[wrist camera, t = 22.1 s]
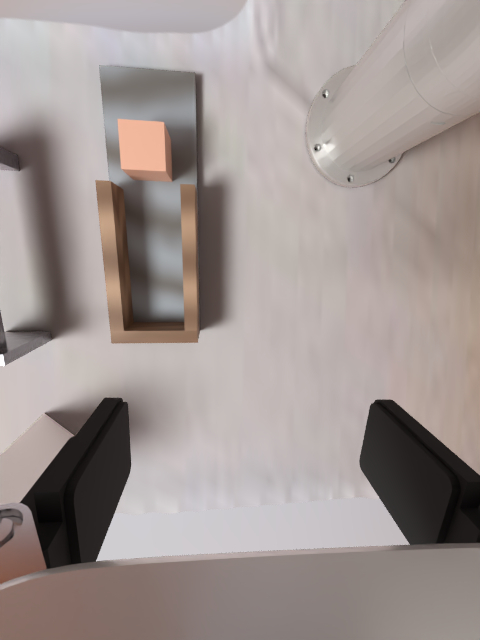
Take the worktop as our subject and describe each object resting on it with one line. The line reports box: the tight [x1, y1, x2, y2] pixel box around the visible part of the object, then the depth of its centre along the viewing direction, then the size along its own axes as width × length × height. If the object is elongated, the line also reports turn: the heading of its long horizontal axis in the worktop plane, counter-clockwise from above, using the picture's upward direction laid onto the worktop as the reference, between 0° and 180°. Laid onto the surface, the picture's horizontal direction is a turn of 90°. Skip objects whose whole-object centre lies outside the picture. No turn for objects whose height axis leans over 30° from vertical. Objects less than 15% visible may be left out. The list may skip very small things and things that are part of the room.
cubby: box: [95, 65, 200, 343], centre depth 31 cm, size 30×10×5 cm, turn 179°
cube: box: [118, 119, 172, 182], centre depth 29 cm, size 4×4×4 cm
